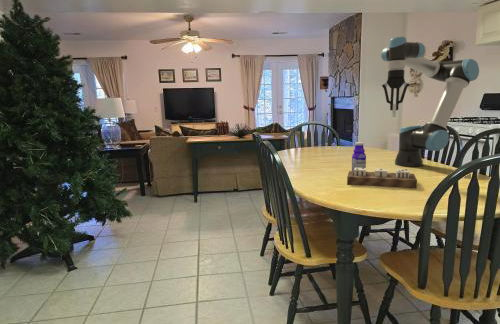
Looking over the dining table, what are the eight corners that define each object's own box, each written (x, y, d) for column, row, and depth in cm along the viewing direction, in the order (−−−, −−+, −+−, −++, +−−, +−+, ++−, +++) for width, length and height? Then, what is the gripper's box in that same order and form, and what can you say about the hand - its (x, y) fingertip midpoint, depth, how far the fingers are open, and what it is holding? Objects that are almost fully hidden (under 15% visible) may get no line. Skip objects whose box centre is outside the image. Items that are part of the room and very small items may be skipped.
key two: (353, 181, 160) (354, 169, 159) (354, 179, 165) (354, 166, 164) (365, 182, 158) (365, 169, 157) (365, 179, 163) (366, 167, 162)
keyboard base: (347, 184, 158) (347, 176, 157) (348, 178, 170) (349, 170, 169) (416, 188, 148) (417, 180, 147) (413, 181, 160) (413, 173, 159)
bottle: (355, 176, 174) (356, 143, 170) (349, 174, 179) (350, 142, 176) (367, 175, 176) (368, 142, 172) (361, 172, 181) (362, 141, 178)
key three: (396, 184, 154) (396, 171, 152) (395, 181, 159) (396, 168, 158) (408, 185, 152) (409, 171, 151) (407, 182, 157) (408, 169, 156)
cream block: (374, 183, 157) (375, 170, 156) (374, 180, 162) (374, 167, 161) (386, 183, 155) (387, 170, 154) (386, 180, 160) (386, 168, 159)
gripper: (382, 70, 165) (380, 117, 169) (411, 68, 160) (408, 117, 165) (382, 70, 172) (380, 116, 176) (409, 69, 167) (406, 116, 172)
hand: (393, 116), depth 170 cm, fingers closed
